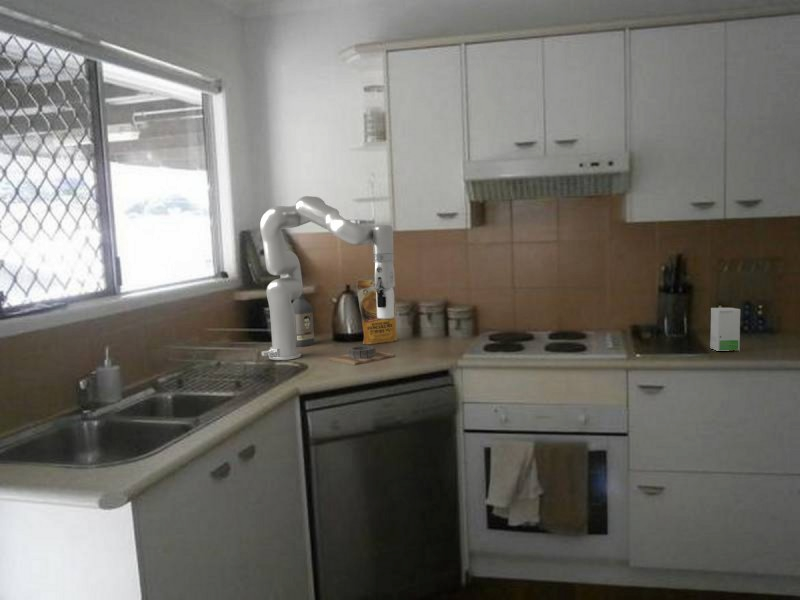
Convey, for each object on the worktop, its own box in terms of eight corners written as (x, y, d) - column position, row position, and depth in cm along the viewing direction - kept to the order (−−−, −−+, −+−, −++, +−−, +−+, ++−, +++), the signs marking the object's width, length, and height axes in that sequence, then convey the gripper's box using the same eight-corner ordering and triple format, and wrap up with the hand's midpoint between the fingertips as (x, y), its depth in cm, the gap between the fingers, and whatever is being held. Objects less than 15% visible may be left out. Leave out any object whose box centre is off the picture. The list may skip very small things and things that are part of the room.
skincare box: (717, 352, 245) (717, 309, 244) (709, 349, 252) (709, 307, 250) (740, 351, 245) (741, 308, 244) (731, 348, 252) (732, 306, 250)
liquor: (288, 345, 300) (283, 277, 297) (305, 342, 306) (301, 276, 303) (299, 347, 294) (295, 278, 290) (317, 344, 300) (313, 276, 296)
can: (384, 316, 260) (383, 285, 258) (397, 317, 256) (396, 285, 254) (373, 318, 255) (372, 286, 254) (386, 319, 251) (385, 287, 249)
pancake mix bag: (356, 343, 297) (352, 279, 294) (395, 338, 305) (392, 276, 302) (362, 345, 291) (358, 280, 288) (401, 340, 299) (399, 277, 296)
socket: (354, 365, 251) (354, 354, 251) (329, 359, 263) (328, 349, 263) (395, 356, 264) (394, 346, 264) (369, 351, 276) (368, 342, 276)
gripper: (385, 259, 243) (386, 309, 246) (400, 256, 260) (401, 303, 262) (365, 259, 246) (367, 309, 248) (382, 257, 262) (383, 303, 264)
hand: (385, 305), depth 255 cm, fingers closed on can, 6 cm apart
